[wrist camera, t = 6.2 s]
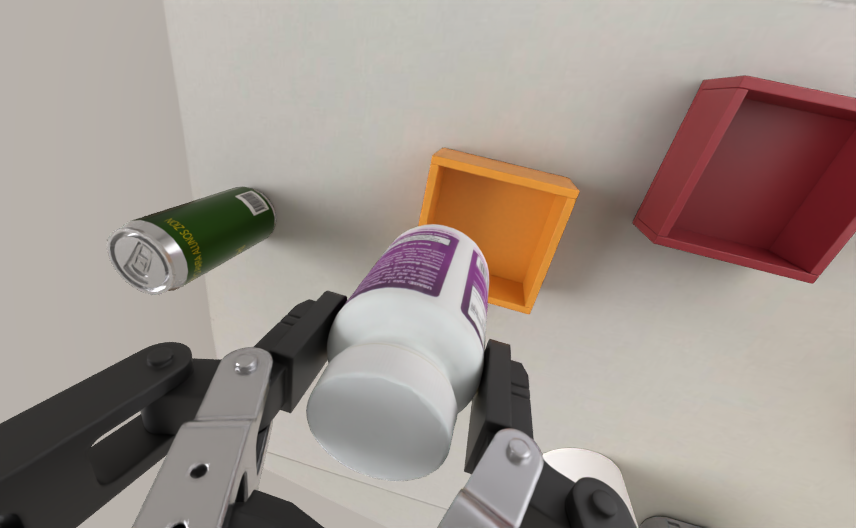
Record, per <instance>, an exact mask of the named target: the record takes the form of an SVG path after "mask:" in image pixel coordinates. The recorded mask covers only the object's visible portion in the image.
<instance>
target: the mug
mask: <svg viewBox="0 0 856 528" xmlns="http://www.w3.org/2000/svg"><path fill="white" fill-rule="evenodd" d="M542 455H543V459H544V460H545V461H546V462H547V463H548V464H549V465H550V466H551V467H552V468H554V469H555V470H557V471H558V472H560V473H561V474H563V475H564V476H566V477H567V478H569V479H571V480H572V481H574V482H575V483H576V482H577V481H578V480H579V479H581V478H583V477H592V478H596V479H598V480H601V481H602V482H604V483H606V484H607V485H609V486H610V487H611V488H613V489H614V490H615V491H616V492H617V493H618V494H619V496H620V497H621V498H622V499H623V501H624V502H625V504H626V506H627V507H628V509H629V511H630V514H631V516H632V518H633V520H634V522H635V524H636V526H637V528H638V524H637V521H636V518H635V515H634V512H633V509H632V505H631V502H630V499H629V496H628V493H627V489H626V486H625V483H624V480H623V477H622V474H621V472H620V469H619V468H618V467H617V466H616V465H615V464H614V463H613V462H612V460H610V459H608V458H607V457H605V456H603V455H601V454H600V453H597V452H593V451H590V450H587V449H580V448H562V449H554V450H552V451H549V452H546V453H544V454H542Z"/></svg>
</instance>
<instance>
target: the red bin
mask: <svg viewBox="0 0 856 528" xmlns="http://www.w3.org/2000/svg"><path fill="white" fill-rule="evenodd" d="M632 223H633V224H634V225H635V226H636V227H637V228H638V229H639V230H640V231H641V232H642V233H643V234H644V235H645V236H646V237H648V238H649V239H650V240H651V241H652V242H653V243H654V244H658V245H662V246H666V247H670V248H674V249H678V250H682V251H686V252H690V253H694V254H698V255H702V256H705V257H709V258H713V259H717V260H721V261H725V262H729V263H733V264H737V265H741V266H745V267H749V268H753V269H757V270H761V271H765V272H769V273H772V274H776V275H780V276H784V277H788V278H792V279H796V280H800V281H804V282H808V283H814V282H815V281H816V279H817V278H818V277H819V275H820V274H821V273H822V272H823V271H824V270H825V268H826V267H827V266H828V265H829V264H830V262H831V261H832V260H833V259H834V257H835V256H836V255H837V254H838V253H839V251H840V250H841V249H842V248H843V247H844V245H845V244H846V243H847V242H848V240H849V239H850V238H851V237H852V236H853V234H854V233H855V232H856V98H852V97H848V96H843V95H838V94H833V93H828V92H823V91H818V90H814V89H809V88H804V87H799V86H794V85H789V84H784V83H780V82H775V81H770V80H765V79H760V78H755V77H750V76H746V75H745V76H736V77H727V78H718V79H709V80H703V82H702V84H701V86H700V88H699V90H698V92H697V94H696V96H695V98H694V100H693V102H692V104H691V106H690V108H689V110H688V112H687V114H686V116H685V118H684V120H683V122H682V124H681V126H680V128H679V130H678V132H677V134H676V136H675V138H674V140H673V142H672V144H671V146H670V148H669V150H668V152H667V154H666V156H665V158H664V160H663V162H662V164H661V166H660V168H659V170H658V172H657V174H656V176H655V178H654V180H653V182H652V184H651V186H650V188H649V190H648V192H647V194H646V196H645V198H644V200H643V202H642V204H641V206H640V208H639V210H638V212H637V214H636V216H635V218H634V220H633V222H632Z"/></svg>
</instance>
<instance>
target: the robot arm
mask: <svg viewBox="0 0 856 528" xmlns="http://www.w3.org/2000/svg"><path fill="white" fill-rule="evenodd" d="M346 302H347V297H346V296H344V295H341V294H337V293H334V292H330V291H326V292H324V293H323V295H322V296H321V297H320V298H319V299H318V300H317V301H313V300H310V299H309V300H307V301H305V302H302V303H300V304H298V305H296V306H295V307H294V308H293V309H292V310H291V311H290V312H289V313H288V315H286V316H285V317H284V318H283V319H282V320H281V322H279V323H278V324H277V325H276V326H275V327H274V328H272V329H271V330H270V331H269V332H268V333H267V334H266V335H265V336H264V337H263V338H262V339H261V340H260V341H259V342H258V343H257V344H256V345H255V346H254V347H247V348H241V349H238V350H235V351H233V352H231V353H229V354H228V355H226V356H225V357H224V358H223V359H222V360H214V359H192V353H191V350H190V348H189V347H187V346H186V345H184V344H181V343H176V342H166V343H159V344H156V345H152V346H149V347H147V348H145V349H143V350H141V351H139V352H137V353H135V354H133V355H131V356H129V357H128V358H126V359H124V360H122V361H120V362H118V363H116V364H114V365H112V366H110V367H108V368H107V369H105V370H103V371H101V372H99V373H97V374H95V375H93V376H91V377H89V378H87V379H85V380H83V381H82V382H80V383H78V384H76V385H74V386H72V387H70V388H68V389H66V390H64V391H62V392H60V393H58V394H56V395H55V396H53V397H51V398H49V399H47V400H45V401H43V402H41V403H39V404H37V405H35V406H34V407H32V408H30V409H28V410H26V411H24V412H22V413H20V414H18V415H16V416H14V417H12V418H10V419H9V420H7V421H5V422H3V423H1V424H0V528H76V527H78V526H79V525H80V524H81V523H82V522H84V521H85V520H86V519H87V518H89V517H90V516H91V515H92V514H94V513H95V512H96V511H97V510H99V509H100V508H101V507H102V506H104V505H105V504H106V503H107V502H109V501H110V500H111V499H112V498H113V497H115V496H116V495H117V494H119V493H120V492H121V491H122V490H123V489H125V488H126V487H127V486H129V485H130V484H131V483H132V482H133V481H135V480H136V479H137V478H139V477H140V476H141V475H142V474H144V473H145V472H146V471H147V470H148V469H150V468H151V467H152V466H153V465H155V464H156V463H157V462H158V461H160V460H161V459H162V458H163V457H165V456H166V458H165V460H164V462H163V464H162V466H161V468H160V470H159V472H158V474H157V476H156V478H155V481H154V483H153V485H152V487H151V489H150V491H149V493H148V495H147V497H146V499H145V501H144V503H143V505H142V508H141V510H140V512H139V514H138V516H137V518H136V520H135V522H134V524H133V526H132V528H324V527H322V526H321V525H320V524H319V523H317V522H316V521H315V520H313V519H312V518H311V517H310V516H308V515H307V514H306V513H305V512H303V511H302V510H301V509H299V508H298V507H297V506H296V505H294V504H293V503H291V502H289V501H286V500H283V499H280V498H277V497H275V496H272V495H269V494H266V493H263V492H260V491H258V489H259V483H260V478H261V474H262V469H263V465H264V461H265V456H266V452H267V447H268V443H269V439H270V434H271V430H272V424H273V418H274V417H275V416H276V414H277V413H278V412H279V410H283V411H286V412H289V413H291V412H292V411H293V409H294V408H295V407H296V405H297V404H298V402H299V401H300V399H301V398H302V396H303V395H304V393H305V392H306V391H307V389H308V388H309V386H310V385H311V383H312V382H313V380H314V379H315V378H316V376H317V375H318V373H319V372H320V370H321V369H322V367H323V366H324V364H325V363H326V362H327V360H328V357H327V342H328V336H329V332H330V329H331V326H332V324H333V322H334V320H335V317H336V315H337V314H338V312H339V311H340V310H341V309H342V307H343V306H344V305H345V304H346ZM529 399H530V392H529V380H528V374H527V372H526V371H525V369H524V367H523V365H522V363H519V362H515V361H512V360H511V350H510V345H509V344H505V343H502V342H498V341H495V340H492V339H489V341H488V343H487V346H486V349H485V352H484V367H483V372H482V377H481V381H480V384H479V387H478V389H477V392H476V393H475V395H474V397H473V398H472V406H471V415H470V424H469V433H468V441H467V450H466V459H465V468H464V472H467V473H470V474H472V475H471V477H470V478H469V480H468V482H467V483H466V485H465V486H464V488H463V489H461V490H460V491H459V493H458V494H457V496H456V497H455V499H454V501H453V502H452V504H451V505H450V507H449V509H448V510H447V512H446V514H445V515H444V517H443V519H442V520H441V522H440V524H439V525H438V527H437V528H637V526H636V524H635V522H634V520H633V518H632V516H631V514H630V511H629V509H628V507H627V506H626V504H625V502H624V501H623V499H622V498H621V497H620V496H619V494H618V493H617V492H616V491H615V490H614V489H613V488H611V487H610V486H609V485H607V484H606V483H604V482H602V481H601V480H598V479H596V478H592V477H583V478H581V479H579V480H578V481H577V482H576V483H575V482H574V481H572V480H571V479H569V478H567V477H566V476H564V475H563V474H561V473H560V472H558V471H557V470H555V469H554V468H552V467H551V466H550V465H549V464H548V463H547V462H546V461H545V460H544V459H543V455H542V452H541V450H540V448H539V447H538V445H537V444H536V442H535V441H534V439H533V429H532V416H531V404H530V400H529ZM139 411H141V414H140V415H139V416H137V417H136V418H134V419H133V420H131V421H130V422H128V423H127V424H125V425H124V426H122V427H121V428H119V429H118V430H117V431H115V432H113V433H112V434H110V435H109V436H107V437H106V438H104V439H103V440H101V441H100V442H98V443H97V444H95V445H94V446H92V444H94V442H95V441H96V440H97V439H98V438H100V437H101V436H102V435H104V434H105V433H107V432H108V431H110V430H111V429H113V428H114V427H116V426H117V425H119V424H121V423H122V422H124V421H125V420H127V419H128V418H129V417H131V416H133V415H134V414H136V413H137V412H139ZM91 446H92V447H91Z"/></svg>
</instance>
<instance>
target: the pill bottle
mask: <svg viewBox="0 0 856 528" xmlns="http://www.w3.org/2000/svg"><path fill="white" fill-rule="evenodd" d="M488 290H489V271H488V266H487V263H486V260H485V258H484V256H483V254H482V252H481V250H480V249H479V247H478V246H477V245H476V243H475V242H474V241H473V240H471V239H470V238H469V237H468V236H467V235H465V234H464V233H462V232H460V231H458V230H456V229H454V228H450V227H447V226H443V225H436V224H430V225H423V226H418V227H415V228H412V229H410V230H408V231H406V232H404V233H403V234H401V235H400V236H399V237H398V238H396V239H395V240H394V242H393V243H392V244H391V245H390V246H389V247H388V249H387V250H386V251H385V253H384V254H383V255H382V256H381V258H380V259H379V260H378V262H377V263H376V264H375V266H374V267H373V268H372V269H371V271H370V272H369V273H368V275H367V276H366V277H365V278H364V280H363V281H362V282H361V284H360V285H359V286H358V288H357V289H356V290H355V292H354V293H353V294H352V296H351V297H350V298H349V299H348V300H347V302H346V304H345V305H344V306H343V307H342V309H341V310H340V311H339V312H338V314H337V315H336V317H335V320H334V322H333V324H332V326H331V329H330V332H329V336H328V342H327V357H328V363H329V364H328V365H327V367H326V369H325V370H324V372H323V374H322V375H321V377H320V379H319V381H318V382H317V384H316V386H315V388H314V389H313V391H312V393H311V395H310V397H309V400H308V404H307V410H306V412H307V420H308V424H309V427H310V430H311V432H312V434H313V435H314V437H315V439H316V440H317V442H318V443H319V444H320V445H321V447H322V448H323V449H324V450H325V451H326V452H327V453H328V454H329V455H330V456H332V457H333V458H334V459H336V460H337V461H338V462H340V463H341V464H343V465H344V466H346V467H348V468H349V469H351V470H353V471H356V472H358V473H360V474H363V475H366V476H369V477H372V478H377V479H382V480H388V481H409V480H414V479H419V478H422V477H424V476H427V475H429V474H430V473H432V472H434V471H436V470H437V469H438V468H439V467H440V466H441V465H442V464H443V462H444V461H445V459H446V457H447V456H448V453H449V449H450V445H451V440H452V435H453V430H454V426H455V422H456V419H457V414H458V413H459V412H460V411H462V410H463V409H464V408H465V407H466V406H467V405H468V404H469V403H470V401H471V400H472V398H473V397H474V395H475V393H476V392H477V389H478V387H479V384H480V381H481V377H482V372H483V367H484V349H485V334H486V318H487V305H488Z"/></svg>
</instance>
